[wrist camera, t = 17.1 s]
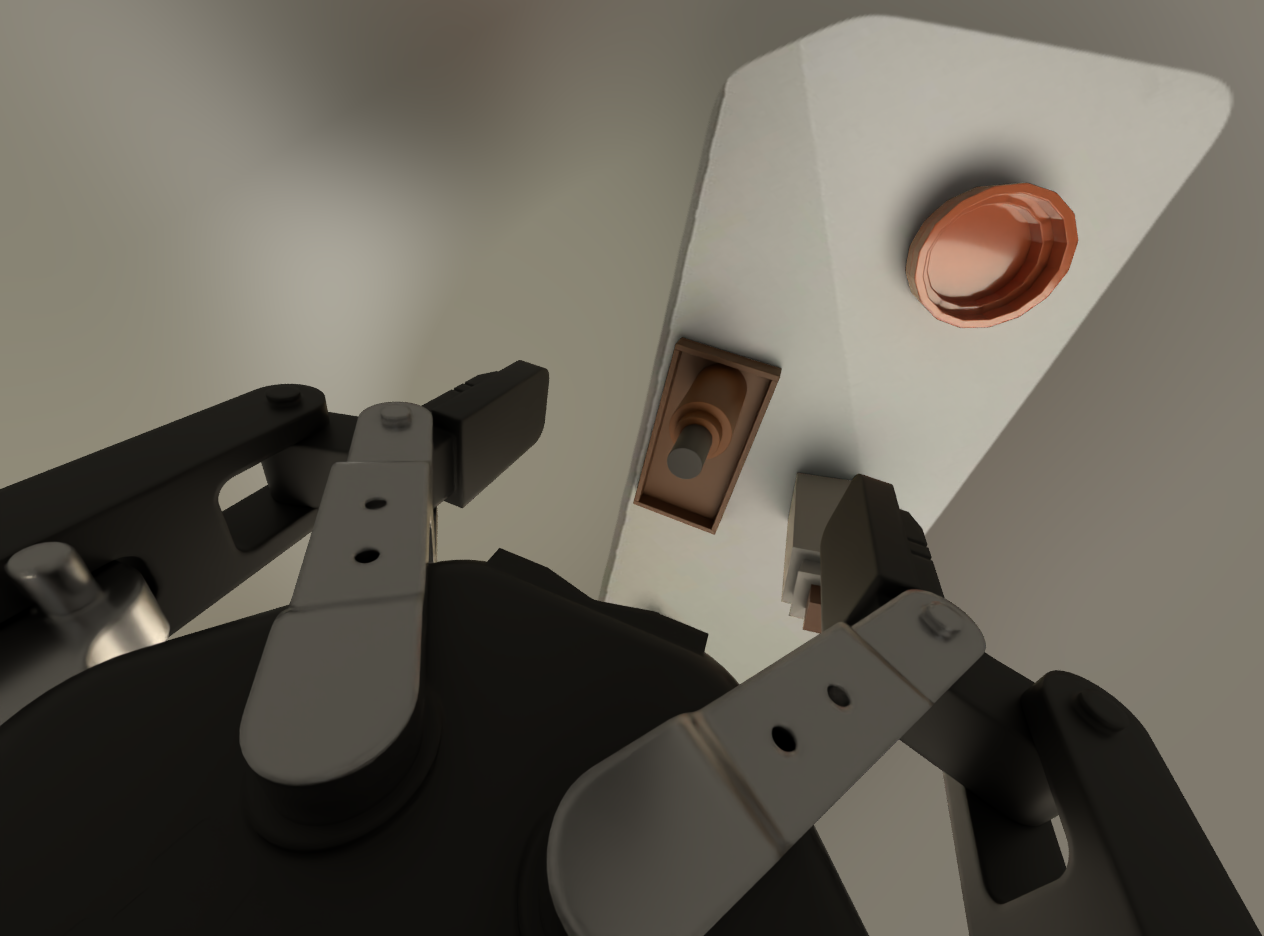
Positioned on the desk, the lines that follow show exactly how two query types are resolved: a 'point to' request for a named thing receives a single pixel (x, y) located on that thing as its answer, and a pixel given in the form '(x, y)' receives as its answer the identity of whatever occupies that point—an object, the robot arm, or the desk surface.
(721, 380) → the bottle
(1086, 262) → the desk surface
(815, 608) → the perfume bottle
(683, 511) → the tray
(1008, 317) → the bowl
